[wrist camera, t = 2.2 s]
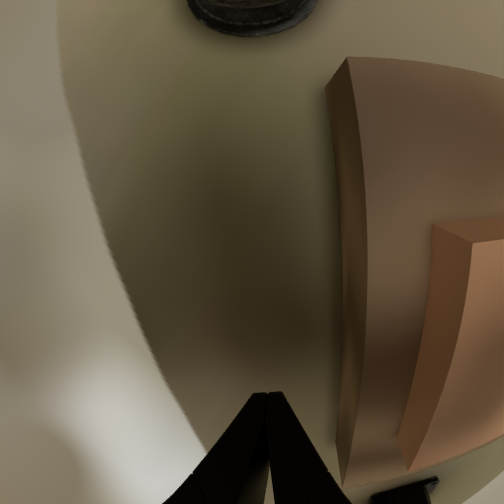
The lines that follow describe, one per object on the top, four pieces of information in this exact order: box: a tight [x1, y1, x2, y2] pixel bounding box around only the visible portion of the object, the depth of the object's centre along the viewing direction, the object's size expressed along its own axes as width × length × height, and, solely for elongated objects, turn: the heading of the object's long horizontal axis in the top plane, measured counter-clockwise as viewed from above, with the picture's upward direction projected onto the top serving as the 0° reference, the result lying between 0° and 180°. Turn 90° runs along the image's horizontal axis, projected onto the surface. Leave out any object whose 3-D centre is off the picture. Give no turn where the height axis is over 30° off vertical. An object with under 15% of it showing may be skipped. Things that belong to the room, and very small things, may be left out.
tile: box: [397, 217, 504, 472], centre depth 7 cm, size 9×6×2 cm, turn 7°
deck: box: [325, 57, 504, 489], centre depth 10 cm, size 18×12×4 cm, turn 7°
